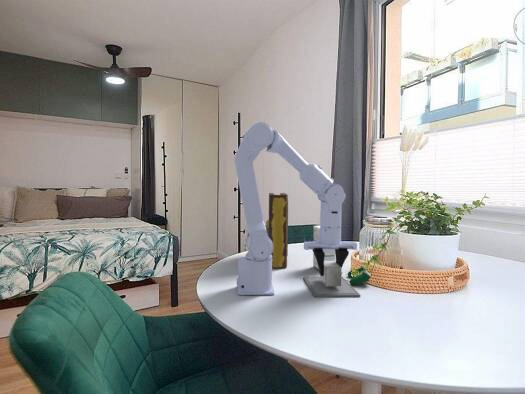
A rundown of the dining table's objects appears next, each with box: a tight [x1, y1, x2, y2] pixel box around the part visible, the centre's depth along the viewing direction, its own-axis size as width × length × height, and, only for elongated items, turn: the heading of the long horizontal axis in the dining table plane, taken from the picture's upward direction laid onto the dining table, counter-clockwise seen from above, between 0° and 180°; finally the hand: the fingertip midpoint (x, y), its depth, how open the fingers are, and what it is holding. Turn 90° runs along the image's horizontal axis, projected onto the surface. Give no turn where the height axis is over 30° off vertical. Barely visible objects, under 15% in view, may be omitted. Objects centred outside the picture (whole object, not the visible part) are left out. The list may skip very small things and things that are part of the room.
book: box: [265, 192, 289, 270], centre depth 112 cm, size 22×8×25 cm, turn 179°
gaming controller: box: [347, 265, 372, 286], centre depth 90 cm, size 9×4×6 cm
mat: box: [302, 276, 361, 298], centre depth 84 cm, size 12×15×1 cm
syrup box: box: [312, 225, 336, 271], centre depth 102 cm, size 6×6×14 cm
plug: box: [319, 260, 343, 286], centre depth 85 cm, size 4×9×5 cm, turn 3°
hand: (329, 274), depth 84 cm, fingers closed on plug, 4 cm apart
